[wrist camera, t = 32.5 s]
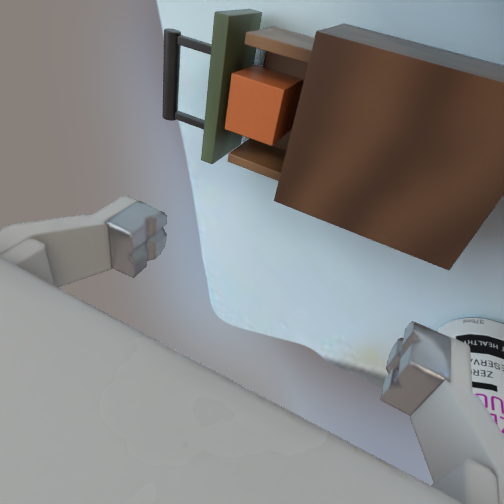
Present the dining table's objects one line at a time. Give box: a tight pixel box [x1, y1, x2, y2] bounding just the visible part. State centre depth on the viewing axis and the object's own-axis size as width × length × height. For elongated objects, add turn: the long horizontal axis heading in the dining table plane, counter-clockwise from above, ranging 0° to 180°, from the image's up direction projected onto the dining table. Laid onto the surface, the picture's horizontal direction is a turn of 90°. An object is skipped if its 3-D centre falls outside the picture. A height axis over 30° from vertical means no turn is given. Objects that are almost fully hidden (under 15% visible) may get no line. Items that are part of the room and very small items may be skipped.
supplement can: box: [437, 318, 504, 434], centre depth 33 cm, size 8×8×15 cm
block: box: [225, 65, 303, 146], centre depth 30 cm, size 4×4×4 cm
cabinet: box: [274, 24, 504, 270], centre depth 28 cm, size 15×13×8 cm
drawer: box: [163, 9, 315, 181], centre depth 30 cm, size 18×11×6 cm, turn 79°
